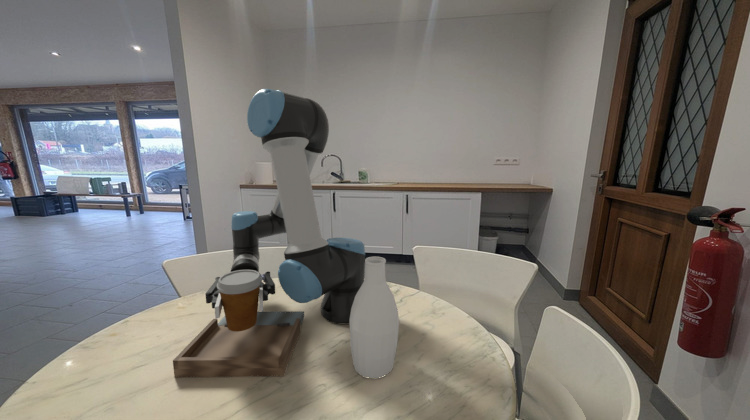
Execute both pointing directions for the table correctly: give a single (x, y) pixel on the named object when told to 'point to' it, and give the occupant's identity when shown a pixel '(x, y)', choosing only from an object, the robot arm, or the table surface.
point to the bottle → (374, 323)
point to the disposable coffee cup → (240, 298)
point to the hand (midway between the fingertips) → (239, 308)
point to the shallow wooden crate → (242, 348)
